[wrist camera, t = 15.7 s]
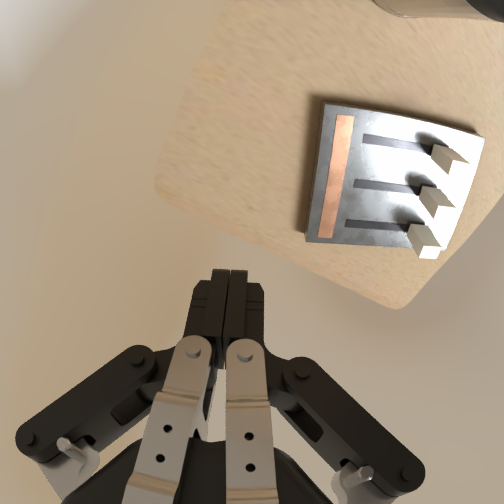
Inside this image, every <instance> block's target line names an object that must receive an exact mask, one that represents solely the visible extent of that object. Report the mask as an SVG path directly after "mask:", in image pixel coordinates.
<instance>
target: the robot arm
mask: <svg viewBox="0 0 504 504" xmlns="http://www.w3.org/2000/svg"><path fill="white" fill-rule="evenodd" d="M374 1H375V3H376V4H377V5H379V6H380V7H381V8H382V9H384V10H385V11H387V12H389V13H391V14H393V15H396V16H399V17H405V18H461V19H475V20H486V21H495V22H503V23H504V0H374ZM247 278H248V271H246V270H231V274H230V270H226V269H213V271H212V277H211V281H209V280H200V281H199V283H198V284H197V285H196V286H195V288H194V290H193V295H192V300H191V303H190V308H189V312H188V317H187V321H186V326H185V331H184V335H183V338H182V339H181V340H180V341H179V342H178V343H177V345H176V346H174V347H172V348H170V349H167V350H161V351H156V352H153V351H152V350H151V349H150V348H148V347H146V346H143V345H134V346H132V347H129V348H127V349H126V350H125V351H124V352H122V353H120V354H119V355H118V356H116V357H115V358H114V359H112V360H111V361H109V362H108V363H107V364H105V365H104V366H103V367H101V368H100V369H98V370H97V371H96V372H94V373H93V374H92V375H90V376H89V377H87V378H86V379H85V380H84V381H82V382H81V383H79V384H78V385H76V386H75V387H74V388H72V389H71V390H70V391H68V392H67V393H66V394H64V395H63V396H61V397H60V398H58V399H57V400H56V401H54V402H53V403H51V404H50V405H49V406H47V407H46V408H45V409H43V410H42V411H41V412H39V413H38V414H36V415H35V416H33V417H32V418H31V419H29V420H28V421H27V422H25V423H24V424H22V425H21V426H20V427H19V428H18V430H17V432H16V437H15V439H16V445H17V447H18V449H19V450H20V452H22V453H23V454H24V455H26V456H28V457H29V458H31V459H32V460H34V461H35V462H36V463H37V464H38V465H39V467H40V468H41V470H42V471H43V473H44V475H45V476H46V478H47V479H48V481H49V482H50V484H51V485H52V487H53V488H54V490H55V491H56V493H57V494H58V496H59V497H60V498H61V500H62V503H61V504H333V503H332V502H331V501H330V500H329V499H328V498H327V497H326V495H325V494H324V493H323V492H322V491H321V490H320V489H319V488H318V487H317V486H316V484H315V483H314V482H313V481H312V480H311V479H310V478H309V477H308V475H307V474H306V473H305V472H304V471H303V470H302V469H301V468H300V467H299V465H298V464H297V463H296V462H295V461H294V460H293V459H292V458H291V457H290V456H289V455H287V454H286V453H285V452H283V451H281V450H279V449H277V448H275V447H273V436H272V424H271V411H270V406H273V407H276V408H277V410H278V411H279V412H280V413H281V414H282V416H283V417H285V419H286V420H287V421H288V422H289V423H290V424H291V425H292V427H293V428H294V429H295V430H296V431H297V432H298V433H299V434H300V435H301V436H302V437H303V438H304V439H305V440H306V441H307V443H308V444H309V445H310V446H311V447H312V448H313V449H314V450H315V451H316V452H317V453H318V454H319V455H320V456H321V457H322V458H323V459H324V460H325V461H326V462H327V463H328V464H329V465H330V466H331V467H332V468H333V469H334V470H335V471H336V473H335V474H334V476H333V478H332V481H331V486H332V489H333V491H334V493H335V494H336V495H337V498H338V500H339V504H391V503H392V502H393V501H394V500H395V499H396V498H397V497H399V496H401V495H404V494H407V493H409V492H412V491H414V490H416V489H417V488H418V487H420V486H421V484H422V483H423V481H424V478H425V467H424V465H423V463H422V462H421V461H420V460H419V459H418V458H417V457H416V456H415V455H414V454H413V453H412V452H410V451H409V450H408V449H407V448H406V447H405V446H404V445H402V443H400V442H399V441H398V440H397V439H396V438H395V437H394V436H393V435H392V434H391V433H390V432H388V431H387V430H386V429H385V428H384V427H383V426H382V425H381V424H380V423H379V422H378V421H377V420H376V419H375V418H373V417H372V416H371V415H370V414H369V413H368V412H367V411H366V410H365V409H364V408H363V407H362V406H361V405H360V404H358V403H357V402H356V401H355V400H354V399H353V398H352V397H351V396H350V395H349V394H348V393H347V392H346V391H345V390H344V389H342V387H341V386H340V385H338V384H337V382H336V381H334V380H333V379H332V378H331V377H330V376H329V375H328V374H327V373H326V372H325V371H324V370H323V369H322V368H321V367H320V366H319V365H318V364H317V363H316V362H315V361H313V360H311V359H310V358H307V357H295V358H293V359H291V360H286V359H282V358H279V357H277V356H275V355H273V354H271V353H270V352H269V351H268V350H267V348H266V347H265V345H264V340H263V339H264V336H263V335H264V291H263V289H262V287H261V285H260V283H248V282H247ZM224 361H225V369H226V440H225V441H219V442H207V434H208V421H209V417H210V411H211V407H212V401H213V396H214V391H215V386H216V379H217V371H218V369H223V367H224ZM149 413H150V414H149ZM148 414H149V417H148V421H147V425H146V428H145V431H144V435H143V438H141V439H139V440H137V441H135V442H134V443H132V444H131V445H129V446H128V447H127V448H126V449H124V450H123V451H122V452H121V453H120V454H119V455H117V456H116V457H115V458H114V459H112V460H111V461H110V462H109V463H108V464H106V465H105V466H104V467H103V468H102V469H100V470H99V471H98V472H97V473H95V474H94V475H93V476H92V477H91V475H92V474H93V472H94V471H95V470H96V469H97V468H98V466H99V463H100V456H99V452H100V451H102V450H103V449H104V448H106V447H107V446H108V445H110V444H111V443H112V442H114V441H115V440H116V439H118V438H119V437H120V436H121V435H123V434H124V433H125V432H127V431H128V430H129V429H130V428H132V427H133V426H134V425H136V424H137V423H138V422H139V421H141V420H142V419H143V418H144V417H146V416H147V415H148Z"/></svg>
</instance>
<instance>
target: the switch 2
mask: <svg viewBox="0 0 504 504" xmlns="http://www.w3.org/2000/svg"><path fill="white" fill-rule="evenodd" d="M430 159H431V160H433V161H434V162H435V163H436V164H437V165H438V166H439V167H440V168H441V169H442V170H443V171H444V172H445V173H446V174H447V175H448V176H452V177H457V178H462V179H466V180H467V179H468V176H469V173H470V169H471V166H472V164H471V163H469V162H468V161H467V160H466V159H465V158H464V157H462V156H461V155H460V154H459V153H457V152H456V151H455V150H454V149H453V148H449V147H445V146H440V145H436V144H434V146H433V150H432V154H431V158H430Z"/></svg>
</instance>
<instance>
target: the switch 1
mask: <svg viewBox="0 0 504 504" xmlns="http://www.w3.org/2000/svg"><path fill="white" fill-rule="evenodd" d="M407 237H408V239H409V241H410V243H411V244H412V246H413V248H414V250H415V252H416V254H417V256H418V258H431V259H437V257H438V254H439V252H440V250H441V248H442V247H441V245H440V243H439V242H438V240H437V239H436V237H435V236H434V234H433V232H432V231H431V229H430V228H429V226H428V225H418V224H410V227H409V230H408V233H407Z"/></svg>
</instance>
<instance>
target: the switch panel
mask: <svg viewBox="0 0 504 504" xmlns="http://www.w3.org/2000/svg"><path fill="white" fill-rule="evenodd" d="M484 141H485V138H483V137H482V136H480V135H479V134H477V133H474V132H471V131H468V130H465V129H461V128H458V127H454V126H451V125H447V124H443V123H439V122H436V121H432V120H428V119H423V118H419V117H415V116H410V115H406V114H401V113H396V112H391V111H386V110H381V109H375V108H369V107H363V106H357V105H351V104H344V103H336V102H328V101H322V105H321V114H320V123H319V131H318V140H317V148H316V156H315V163H314V171H313V178H312V185H311V192H310V199H309V206H308V213H307V219H306V226H305V232H304V235H305V241H306V242H313V243H331V244H349V245H367V246H384V247H400V248H413V246H412V244H411V243H410V241H409V239H408V237H407V233H408V230H409V227H410V224H418V225H428V226H429V228H430V229H431V231H432V232H433V234H434V236H435V237H436V239H437V240H438V242H439V243H440V245H441V247H442V248H441V250H445V249H446V247H447V245H448V243H449V240H450V238H451V236H452V233H453V231H454V228H455V226H456V223H457V221H458V218H459V216H460V213H461V211H462V208H463V205H464V203H465V200H466V197H467V195H468V192H469V189H470V186H471V183H472V180H473V177H474V174H475V171H476V168H477V165H478V161H479V158H480V155H481V151H482V148H483V144H484ZM434 144H436V145H440V146H445V147H449V148H453V149H454V150H455V151H456V152H457V153H459V154H460V155H461V156H462V157H464V158H465V159H466V160H467V161H468V162H469V163H471V164H472V166H471V169H470V173H469V176H468V179H467V180H466V179H462V178H457V177H452V176H448V175H447V174H446V173H445V172H444V171H443V170H442V169H441V168H440V167H439V166H438V165H437V164H436V163H435V162H434V161H433V160H431V159H430V158H431V154H432V150H433V146H434ZM422 186H426V187H433V188H439V189H441V190H442V191H443V192H444V193H445V195H446V196H447V197H448V198H449V199H450V200H451V202H452V203H453V204H454V205H455V206H456V208H457V210H456V213H455V215H454V218H453V220H452V222H450V221H441V220H433V218H432V217H431V215H430V214H429V213H428V211H427V210H426V208H425V207H424V206H423V204H422V203H421V202H420V200H419V196H420V193H421V189H422Z"/></svg>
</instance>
